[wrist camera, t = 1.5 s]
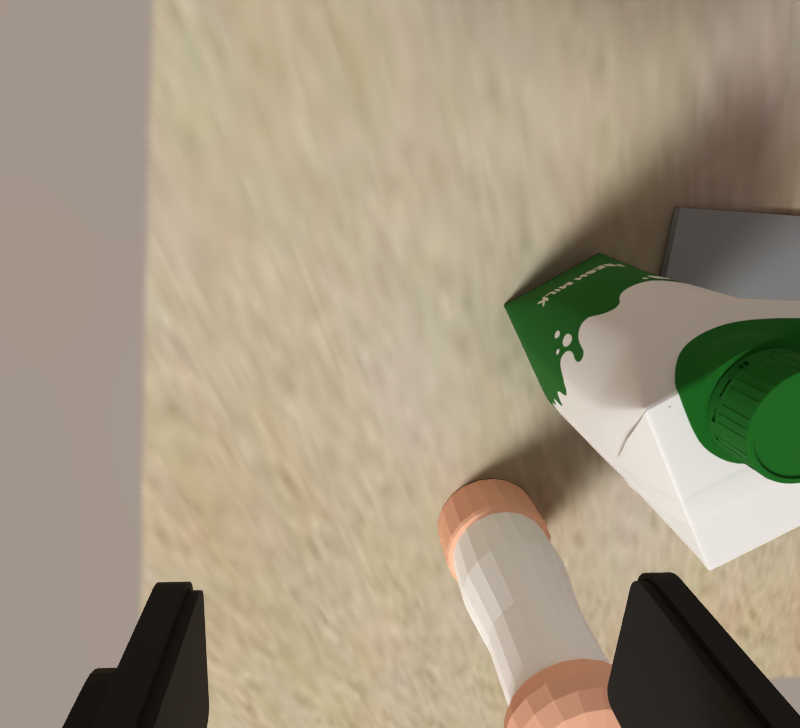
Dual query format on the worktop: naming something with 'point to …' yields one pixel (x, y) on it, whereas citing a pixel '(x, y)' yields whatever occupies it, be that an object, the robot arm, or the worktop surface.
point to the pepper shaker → (525, 609)
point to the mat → (735, 253)
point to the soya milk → (677, 395)
